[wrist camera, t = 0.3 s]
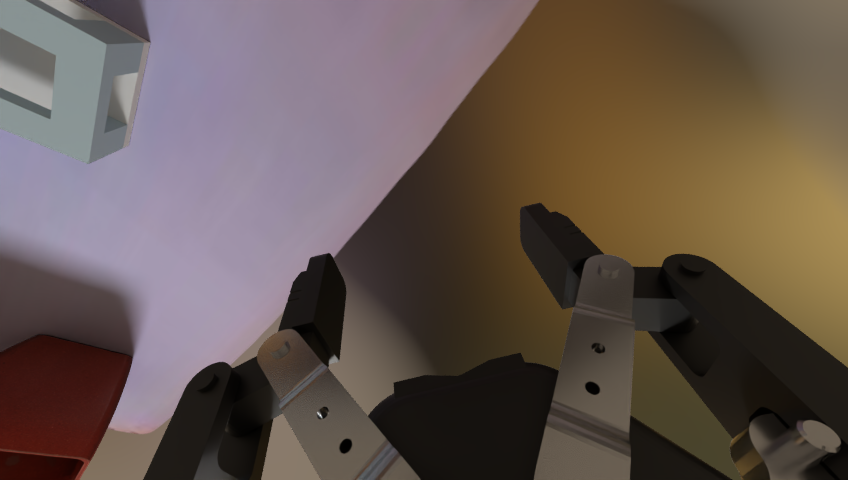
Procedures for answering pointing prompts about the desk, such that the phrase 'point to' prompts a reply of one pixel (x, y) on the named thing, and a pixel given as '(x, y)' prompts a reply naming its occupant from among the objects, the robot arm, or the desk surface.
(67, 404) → the plant pot
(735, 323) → the robot arm
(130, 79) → the grey hollow block
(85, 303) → the desk surface
